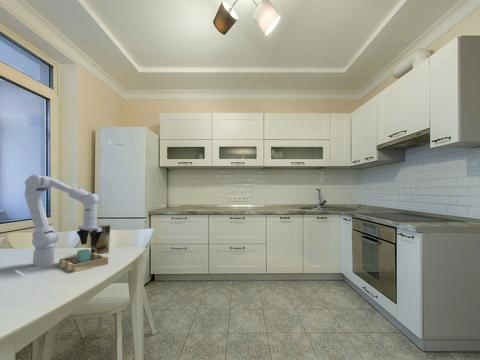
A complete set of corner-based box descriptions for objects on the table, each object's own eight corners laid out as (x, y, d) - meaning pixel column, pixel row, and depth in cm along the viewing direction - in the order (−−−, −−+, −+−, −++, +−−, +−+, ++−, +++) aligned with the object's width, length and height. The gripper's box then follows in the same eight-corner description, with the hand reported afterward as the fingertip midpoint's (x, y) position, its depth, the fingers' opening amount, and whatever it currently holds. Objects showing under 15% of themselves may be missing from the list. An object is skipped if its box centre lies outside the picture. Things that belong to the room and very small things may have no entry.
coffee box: (90, 256, 131) (91, 227, 132) (91, 253, 137) (92, 225, 138) (109, 254, 136) (110, 226, 136) (109, 251, 141) (110, 224, 142)
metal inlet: (70, 265, 112) (70, 260, 112) (89, 261, 119) (89, 256, 119) (78, 269, 108) (78, 263, 108) (97, 264, 115) (97, 259, 115)
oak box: (59, 267, 111) (59, 259, 111) (92, 260, 124) (93, 252, 124) (73, 274, 103) (73, 265, 103) (107, 265, 116) (108, 257, 116)
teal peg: (76, 265, 113) (77, 250, 113) (85, 263, 116) (86, 249, 116) (80, 267, 110) (81, 252, 111) (89, 264, 114) (90, 250, 114)
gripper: (72, 217, 117) (71, 245, 117) (92, 219, 112) (91, 248, 111) (86, 216, 124) (85, 242, 123) (105, 218, 118) (104, 245, 118)
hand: (89, 245), depth 118 cm, fingers open, 7 cm apart
